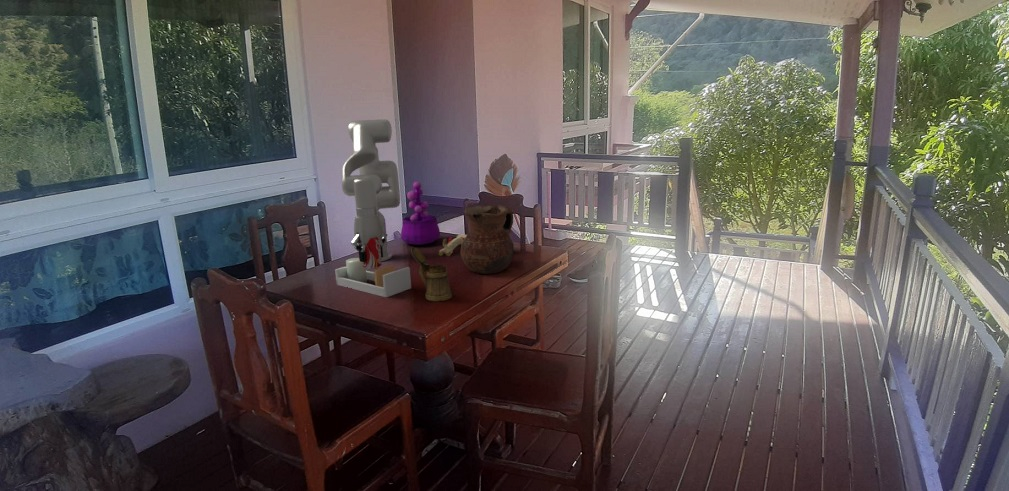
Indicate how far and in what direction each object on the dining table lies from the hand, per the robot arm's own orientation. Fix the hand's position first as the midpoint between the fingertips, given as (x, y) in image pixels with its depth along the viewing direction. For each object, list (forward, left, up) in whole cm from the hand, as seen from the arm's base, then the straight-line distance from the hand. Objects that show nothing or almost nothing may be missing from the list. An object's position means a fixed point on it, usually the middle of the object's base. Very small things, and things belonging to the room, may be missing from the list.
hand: (371, 259), depth 216 cm
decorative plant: (-34, +58, -11) cm, 68 cm away
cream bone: (-11, +58, -11) cm, 60 cm away
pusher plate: (+6, 0, -10) cm, 12 cm away
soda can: (0, 0, -3) cm, 3 cm away
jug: (+22, +40, -11) cm, 47 cm away
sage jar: (-10, 0, -11) cm, 14 cm away
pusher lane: (0, 0, -11) cm, 11 cm away
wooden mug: (+27, +3, -11) cm, 30 cm away
